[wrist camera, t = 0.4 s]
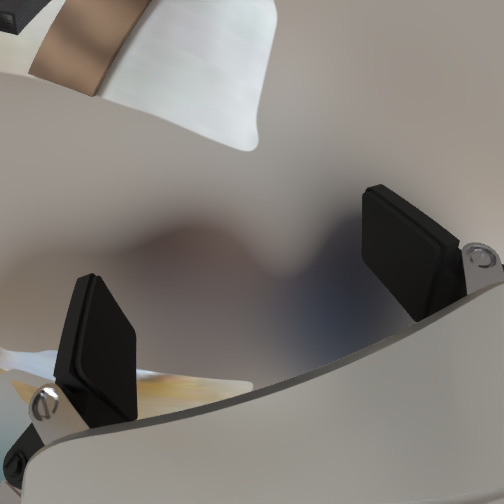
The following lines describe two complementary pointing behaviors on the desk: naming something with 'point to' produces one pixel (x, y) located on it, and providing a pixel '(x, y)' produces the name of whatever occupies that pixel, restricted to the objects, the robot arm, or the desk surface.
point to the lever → (18, 14)
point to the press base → (85, 42)
